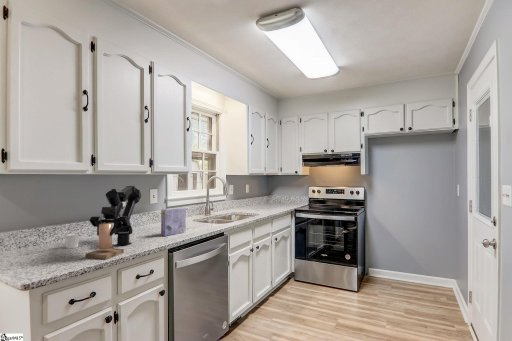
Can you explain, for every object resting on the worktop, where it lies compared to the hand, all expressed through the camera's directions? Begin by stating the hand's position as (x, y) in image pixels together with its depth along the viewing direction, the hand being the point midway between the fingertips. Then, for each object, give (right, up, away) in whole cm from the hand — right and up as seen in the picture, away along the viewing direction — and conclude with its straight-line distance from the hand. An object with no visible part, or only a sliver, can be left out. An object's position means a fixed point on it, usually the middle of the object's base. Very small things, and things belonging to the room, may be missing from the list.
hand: (104, 235), depth 143 cm
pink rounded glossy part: (0, -7, +1) cm, 7 cm away
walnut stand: (0, -10, +1) cm, 10 cm away
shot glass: (-28, -11, +18) cm, 35 cm away
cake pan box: (+19, -12, +56) cm, 60 cm away
